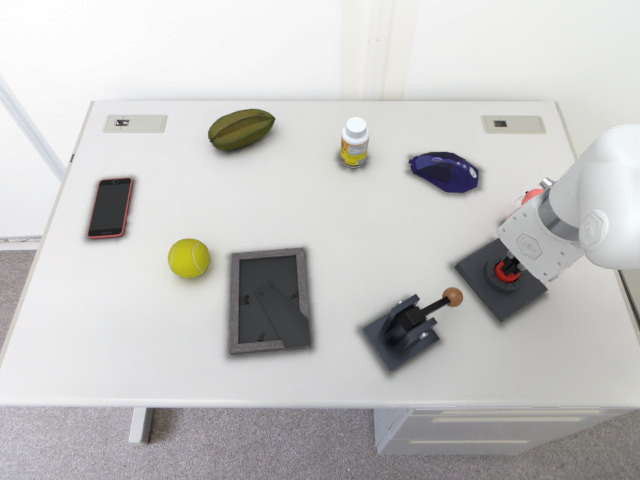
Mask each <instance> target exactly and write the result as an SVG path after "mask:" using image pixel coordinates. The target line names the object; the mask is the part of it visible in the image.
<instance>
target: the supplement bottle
mask: <svg viewBox="0 0 640 480" xmlns="http://www.w3.org/2000/svg"><path fill="white" fill-rule="evenodd" d="M370 135H371V134H370V130H369V128H368V126H367V121H366V120H365V119H363V118H361V117H358V116H354V117H353V116H352V117H350V118H349V119H348V120H347V121H346V123H345V125H344V127H343V128H342V130H341V135H340V136H341V137H340V161H341V162H342V164H343V165H344V166H346V167H347V168H352V169H356V168H360V167H361V166H363V165H364V164H365V162H366V160H367V156H368V149H369V142H370Z"/></svg>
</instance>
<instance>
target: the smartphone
mask: <svg viewBox="0 0 640 480" xmlns="http://www.w3.org/2000/svg"><path fill="white" fill-rule="evenodd" d="M132 186H133V179H132V178H131V177H119V178H117V177H116V178H107V179H105V178H104V179H101V180H100V181H99V182H98V185H97V190H96V193H95V198H94V203H93V207H92V211H91V214H90V215H91V216H90V220H89V225H88V229H87V234H86V237H87V238H88V239H103V238H118V237H121V236H123V235H124V232H125V228H126V222H127V216H128V210H129V203H130V198H131V192H132Z"/></svg>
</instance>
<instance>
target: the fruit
mask: <svg viewBox="0 0 640 480" xmlns="http://www.w3.org/2000/svg"><path fill="white" fill-rule="evenodd" d="M275 122H276V117H275V116H274V115H273V114H272V113H271V112H268V111H266V110H264V109H260V108H247V109H240V110H239V109H238V110H236V111H233V112H231V113H227V114H225V115H222V116H220V117H219V118H217V119H216V120H215V121H214V122H213V123H212V124H211V126H209V129H208V130H207V139H208V140H209V142H210V144H212V147H214V148H215V149H216V150H219V151H233V150H238V149H242V148H243V147H247V146H250V145H252V144H254V143H256V142H258V141H259V140H261V139H262V138H264V137H265V136H266V135H267V134H268V133H269V132H270V131H271V129H272V128H273V126H274V124H275Z"/></svg>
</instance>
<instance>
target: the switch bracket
mask: <svg viewBox="0 0 640 480" xmlns="http://www.w3.org/2000/svg"><path fill="white" fill-rule="evenodd" d="M420 300H421V298H420V297H419V295H418V294H417V293H415V294H413V295H410V296H409V297H408V298H406V299H401V300H399V301H397V303H395V306H394V307H392V308H391V309H390V311H388V312H387V313H386V314H384V315H383V316H381V317H379V318H378V319H376V320H374V321H373V322H371V323H369V324H368V325H366V326H364V327H363V328H362V332H363V334H364V335H365V337H366V339H367V340H368V342H369V343H370V345H371V346H372V348H373V349H374V351H375V352H376V354H377V355H378V357H379V359H380V360H381V361H382V363H383V365H384V366H385V368H386V369H387V371H388V372H389V373H391V372H393V371H395V370H396V369H398V368H399V367H400V366H402V365H403V364H405V363H406V362H409V361H410V360H411V359H412V358H414V357H416V356H417V355H419V354H420V353H422V352H424V351H425V350H426V349H428V348H429V347H431V346H432V345H434V344H436V342H439V340H441V339H440V337H439V336H438V334H437V333H436V332H435V330H434V327H435V326H436V325H437V324H439V322H438V321H437V320H436V318H435V317H434V316H432V317H431V318H429V319H426V320H424V321H423V322H422V323H421V324H420V325H419V326H417V327H415V328H413V329H411V330H410V331H408V332H405V330H404V329H403V327H402V326H401V324H400V323H399V322H398V319H399V318H400V317H401V316H402V315H403V314H404V313H405V312H406V311H408V310H410V309H412V308H414V307H416V306H417V305H418V303H419V302H420Z"/></svg>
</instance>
